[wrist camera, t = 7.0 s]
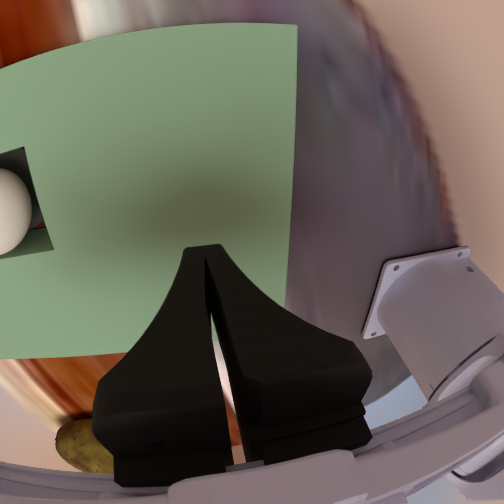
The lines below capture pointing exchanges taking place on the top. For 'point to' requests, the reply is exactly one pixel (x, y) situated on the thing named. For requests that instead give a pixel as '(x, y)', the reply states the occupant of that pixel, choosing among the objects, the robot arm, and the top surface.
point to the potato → (83, 448)
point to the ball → (13, 210)
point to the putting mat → (143, 176)
